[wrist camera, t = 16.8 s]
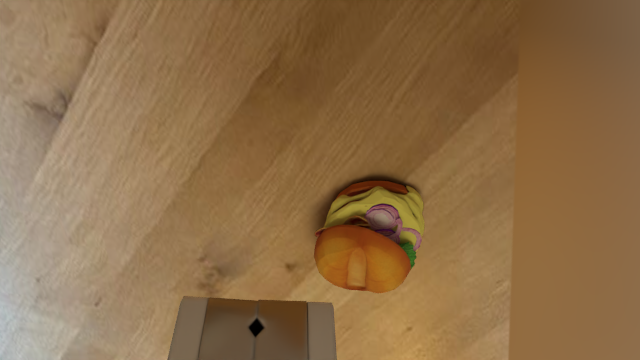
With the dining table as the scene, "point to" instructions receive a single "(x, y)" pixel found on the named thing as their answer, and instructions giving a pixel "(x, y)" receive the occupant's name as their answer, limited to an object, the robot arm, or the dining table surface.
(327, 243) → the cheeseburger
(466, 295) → the dining table surface
